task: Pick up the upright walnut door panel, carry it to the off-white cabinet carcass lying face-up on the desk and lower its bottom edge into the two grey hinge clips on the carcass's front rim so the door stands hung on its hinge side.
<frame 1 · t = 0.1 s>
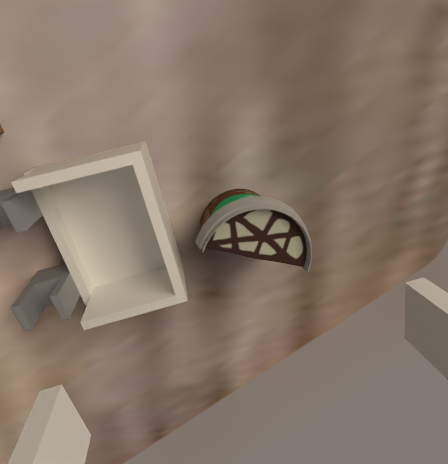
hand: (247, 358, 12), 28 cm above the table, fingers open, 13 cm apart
carcass: (116, 221, 38), on the table
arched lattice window: (243, 203, 40), on the table
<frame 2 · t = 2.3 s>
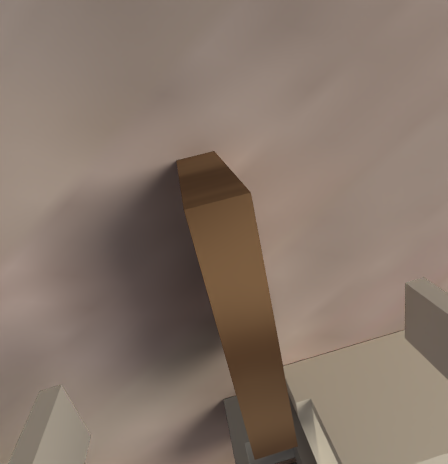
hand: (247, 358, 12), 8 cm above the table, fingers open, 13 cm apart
carcass: (362, 415, 27), on the table
door: (220, 255, 19), on the table
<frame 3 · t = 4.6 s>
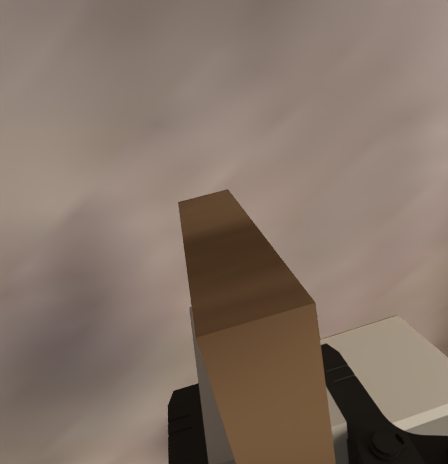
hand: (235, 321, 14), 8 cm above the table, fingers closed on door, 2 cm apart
carcass: (339, 404, 29), on the table
door: (234, 318, 15), point 8 cm above the table, touching gripper
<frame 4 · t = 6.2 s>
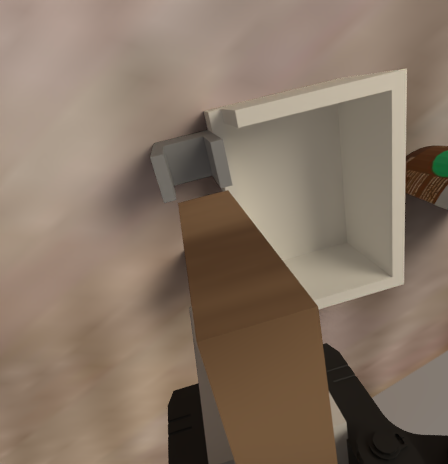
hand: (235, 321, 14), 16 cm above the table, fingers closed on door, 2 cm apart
carcass: (286, 185, 30), on the table
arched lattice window: (434, 165, 32), on the table
door: (234, 319, 15), point 16 cm above the table, touching gripper
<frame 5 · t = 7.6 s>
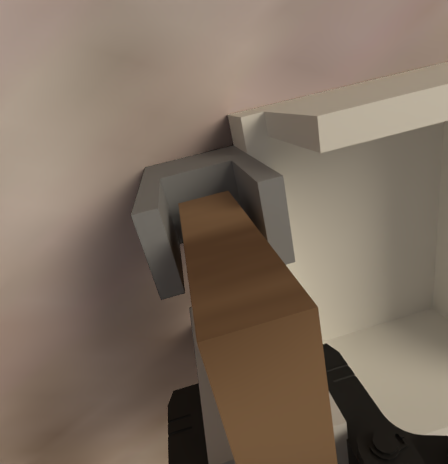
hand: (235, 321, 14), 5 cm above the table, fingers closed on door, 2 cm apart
carcass: (350, 228, 19), on the table
door: (234, 320, 15), point 5 cm above the table, touching gripper
when the fingers open (4 cm above the table, at t = 8.0 s): door stays where it is, resting on carcass.
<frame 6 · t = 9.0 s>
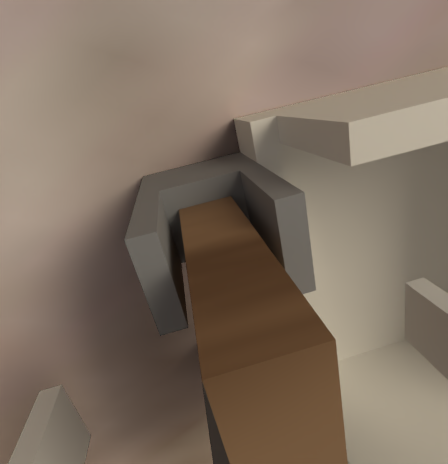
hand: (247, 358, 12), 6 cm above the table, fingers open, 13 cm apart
carcass: (365, 241, 18), on the table
door: (236, 328, 14), point 3 cm above the table, touching carcass
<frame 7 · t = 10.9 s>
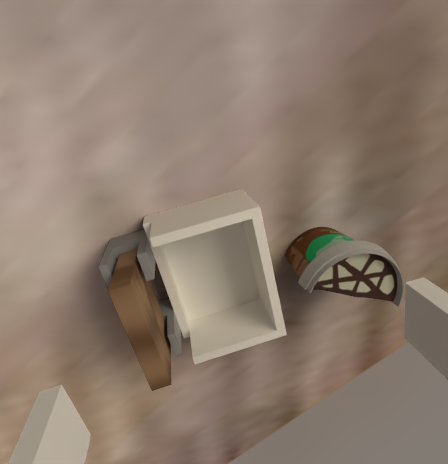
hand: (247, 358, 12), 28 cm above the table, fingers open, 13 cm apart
carcass: (210, 260, 41), on the table
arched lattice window: (323, 240, 43), on the table
door: (146, 296, 37), point 3 cm above the table, touching carcass
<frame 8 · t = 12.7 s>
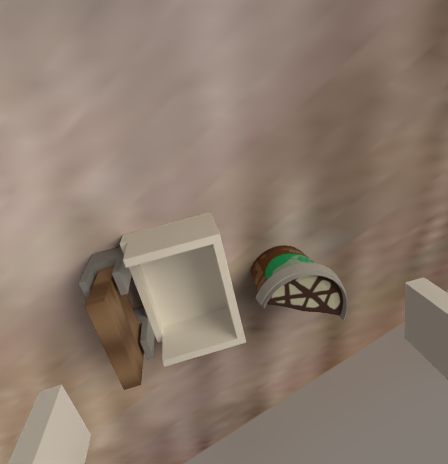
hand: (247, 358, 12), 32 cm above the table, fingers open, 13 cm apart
carcass: (182, 273, 46), on the table
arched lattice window: (285, 256, 48), on the table
door: (123, 306, 42), point 3 cm above the table, touching carcass
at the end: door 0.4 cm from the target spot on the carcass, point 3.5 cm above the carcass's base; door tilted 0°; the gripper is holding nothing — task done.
